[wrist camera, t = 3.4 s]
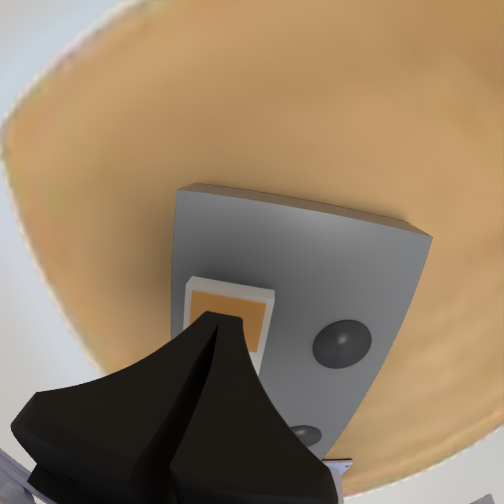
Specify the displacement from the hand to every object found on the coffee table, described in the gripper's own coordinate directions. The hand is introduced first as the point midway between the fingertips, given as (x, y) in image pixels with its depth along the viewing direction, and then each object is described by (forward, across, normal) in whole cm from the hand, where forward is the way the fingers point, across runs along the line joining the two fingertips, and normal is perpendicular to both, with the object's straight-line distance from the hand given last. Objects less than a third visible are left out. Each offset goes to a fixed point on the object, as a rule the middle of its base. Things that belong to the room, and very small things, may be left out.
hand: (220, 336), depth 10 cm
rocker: (+2, 0, +2) cm, 3 cm away
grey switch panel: (+6, -3, +7) cm, 10 cm away
